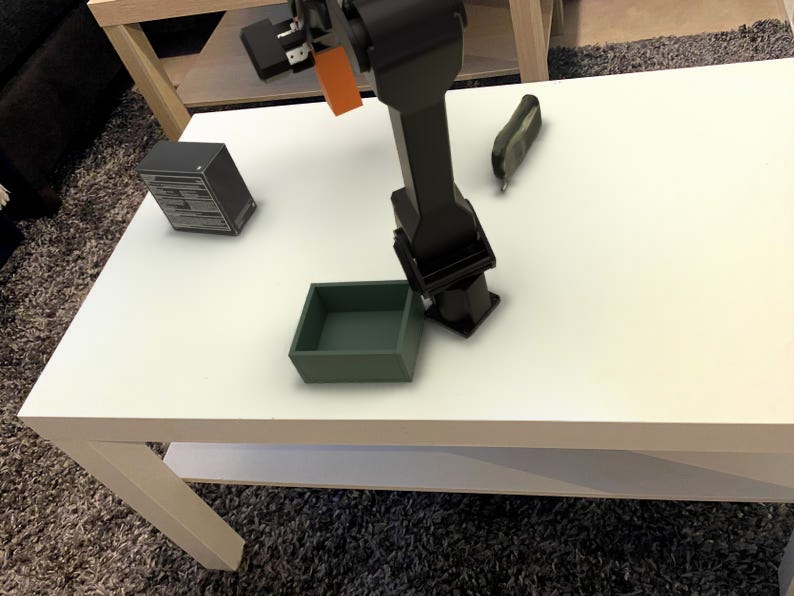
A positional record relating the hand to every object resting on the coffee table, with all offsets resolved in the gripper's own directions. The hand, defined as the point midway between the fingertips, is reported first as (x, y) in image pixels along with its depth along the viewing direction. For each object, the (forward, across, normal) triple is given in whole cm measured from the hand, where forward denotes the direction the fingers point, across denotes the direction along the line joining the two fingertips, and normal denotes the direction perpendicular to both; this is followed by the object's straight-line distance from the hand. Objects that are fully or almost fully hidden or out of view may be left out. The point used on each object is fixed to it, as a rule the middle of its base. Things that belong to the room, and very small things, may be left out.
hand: (325, 54), depth 94 cm
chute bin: (-15, +12, +35) cm, 40 cm away
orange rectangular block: (+4, 0, +6) cm, 7 cm away
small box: (+8, +22, +12) cm, 26 cm away
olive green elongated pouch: (-2, -17, +22) cm, 28 cm away
